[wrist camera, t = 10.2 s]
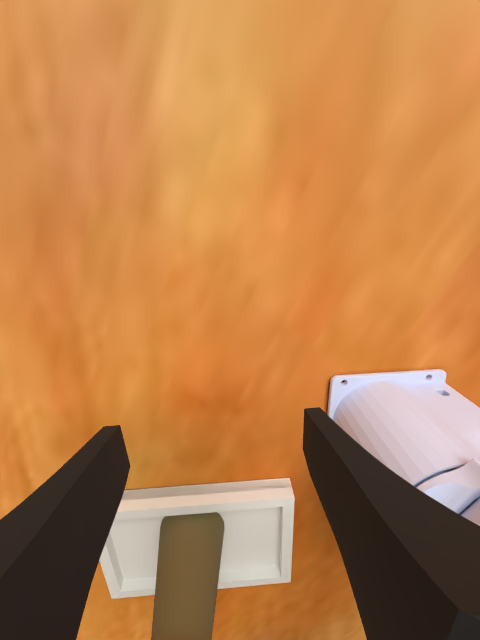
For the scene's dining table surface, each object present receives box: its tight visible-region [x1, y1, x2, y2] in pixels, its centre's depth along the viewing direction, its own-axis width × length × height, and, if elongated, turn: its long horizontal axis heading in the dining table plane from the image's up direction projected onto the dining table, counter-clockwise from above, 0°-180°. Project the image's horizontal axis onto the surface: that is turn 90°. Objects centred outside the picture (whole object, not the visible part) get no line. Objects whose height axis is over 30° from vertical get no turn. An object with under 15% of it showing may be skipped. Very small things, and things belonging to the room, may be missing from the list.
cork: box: [151, 512, 225, 640], centre depth 21 cm, size 6×6×11 cm
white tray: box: [99, 478, 295, 599], centre depth 27 cm, size 18×12×2 cm, turn 92°
